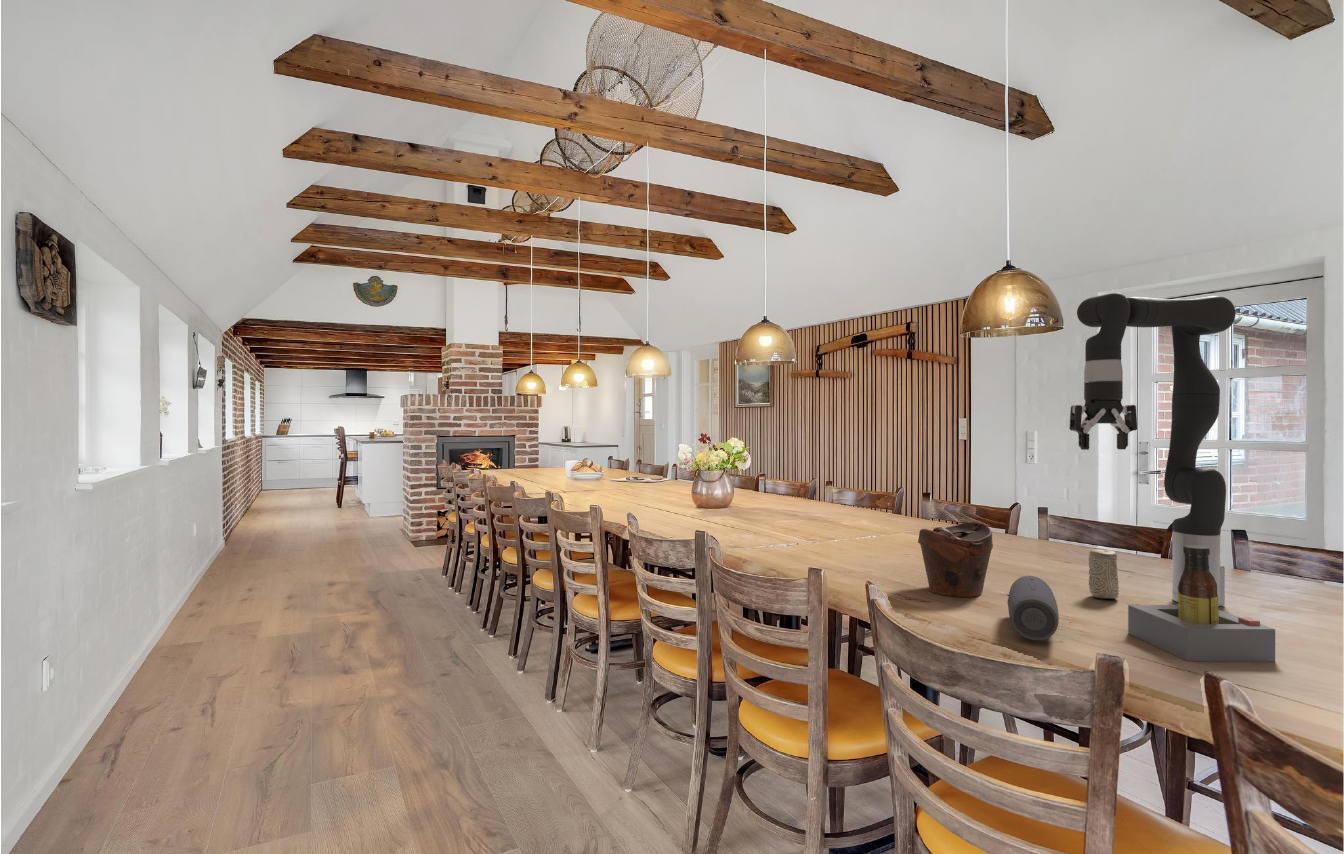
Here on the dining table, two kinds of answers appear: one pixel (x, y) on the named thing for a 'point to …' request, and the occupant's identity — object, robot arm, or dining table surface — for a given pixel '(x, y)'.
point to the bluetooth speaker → (1033, 608)
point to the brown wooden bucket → (956, 558)
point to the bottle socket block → (1202, 635)
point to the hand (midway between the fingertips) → (1103, 449)
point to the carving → (1103, 574)
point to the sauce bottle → (1197, 588)
